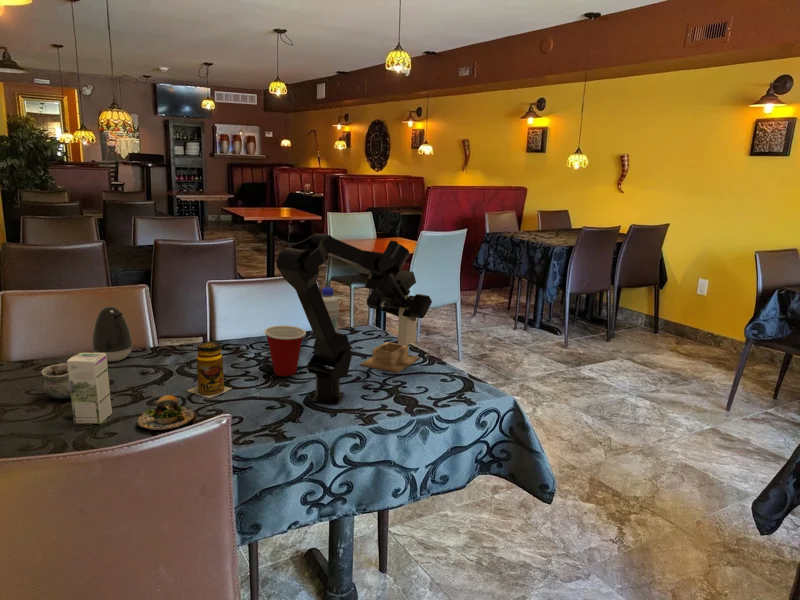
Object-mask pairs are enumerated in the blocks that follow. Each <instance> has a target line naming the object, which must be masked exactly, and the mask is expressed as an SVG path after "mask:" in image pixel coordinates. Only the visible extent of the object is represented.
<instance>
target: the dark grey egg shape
mask: <svg viewBox="0 0 800 600" xmlns="http://www.w3.org/2000/svg"><path fill="white" fill-rule="evenodd" d="M130 330H131V329H130V328H129V325H128V323H127V320H126V319H125V316H124V314H123V312H122V311H120V310H119V309H118V308H117V307H115V306H106V307H104V308H102V309H101V310H100V311H99V313H98V315H97V317H96V319H95V323H94V326H93V332H92V339H91V349H92V351H93V353H106V357H107V363H110V362H111V363H112V362H119V361H122V360H124V359H126V358H127V357H128V356H129V354H130V352H131V350H132V347H133V338H132V334H131V331H130Z"/></svg>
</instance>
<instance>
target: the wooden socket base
mask: <svg viewBox="0 0 800 600" xmlns="http://www.w3.org/2000/svg"><path fill="white" fill-rule="evenodd" d="M419 360H420V356H419V357H418V356H412V355H409V344H408V345H404V344H400V343H395V342H389V341H385V342H384V343H383V344H380V345H378V346H376V347H374V348H372V357H370V358H368V359H366V360H365V361H362V362H360V363H359V366H361V367H366V368H370V369H374V370H375V369H376V370H381V371H385V372H389V373H390V372H391V373H395V374H399V373H400V372H401V371H403V370H405V369H406V368H408V367H409V366H411V365H413V364H414V363H416V362H418V361H419Z"/></svg>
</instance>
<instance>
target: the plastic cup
mask: <svg viewBox="0 0 800 600" xmlns="http://www.w3.org/2000/svg"><path fill="white" fill-rule="evenodd" d="M264 334H265V336H266V338H267V343H268V348H269V353H270V358H271V363H272V368H273V372H274V374H275V375H276V376H278V377H290V376H293V375H295V374H296V373H297V371H298V365H299V364H298V363H299V360H300V353H301V348H302V343H303V340H304V337H305V336H306V334H307V333H306V330H304V329H303V328H300V327H299V326H298V327H297V326H293V325H273V326H269V327H267V328H266V329H265V330H264Z"/></svg>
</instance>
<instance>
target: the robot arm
mask: <svg viewBox="0 0 800 600" xmlns="http://www.w3.org/2000/svg"><path fill="white" fill-rule="evenodd" d="M327 256H330V257H332V258H335V259H337V260H339V261H343V262H345V263H347V264H349V265H350V266H351V268H352V269H353V270H355V271H357V272H358V273H361V274H366V275H369V276H368V278H366V282H365V287H364V288H365V289H369V290H371V292H370V293H369V295H368V297H367V298H366V305H367V306H368V307H369V309H373V310H374V309H375V310H378V309H379V307H382V308H381V311H382V312H384V313H386V314H390V315H392V316H395V317H398V318H399V308H404V309H405V311H404V312H403V314H402V315H403V316H405V317H406V318H408V319H410V320H412V321H415V320H416V318H417V319H423V318H425V316H426V315H427V312H428V311H429V309H430V307H431V305H432V303H433V301H432V299H431V297H430V295H426V294H422V293H421V294H420V293H418V294H415V295H412V294H411V295H409V294H410V293H411V291H410V289H411V287H413V286H414V285H415V284H417V280H416V276H415V273H414V272H413V271H411V270H404V269H403V270H401V269H402V268H403V266H404V265H405V263H406V261H407V259H408V258H409V256H410V251H409V249H408V248H406V247H405V246H404V245H403V244H400V243H398V242H397V240H389V242H388V243H387V247H386V249H385V250H384V252H379V251H370V250H362V249H360V248H358V247H355V246H354V245H351V244H349V243H346V242H344V241H342V240H339V239H337V238H335V237H333V236H332V235H330V234H324V233H314V234H312V235H310V236H309V237H307V238H306V239H304V240H301V241H298V242H296V243H294V244H292V245H290V246H289V247H285V248H283V249H282V250H281V251H280V252H279V254H278V255H277V259H276V262H275V263H276V267H277V270H278V272H279V273H280V274H281V276H282V277H283V279H284V281H286V282H287V283H288V284H289V285H290V286H291V287H292V288H293V289H294V290H295V292H296V294H297V297H298V299H299V302H300V304H301V306H302V307H301V308H302V309H303V311H304V314H305V317H306V319H307V321H308V323H309V326H310V328H311V331H312V333H313V335H314V338H315V340H314V343H313V352H314V353H313V354H312V356H311V358H310V359H309V361H308V363H307V365H306V369H307V372H308V374H311V375H315V395H314V396H313V397H312V399H311V401H310V402H311V403H315V404H316V403H319V404H328V405H338V404H339V403H340V401H341V400H342V398H343V397H344V396H345V392H342V391H340V390H341V387H340V386H341V379H342V378H345V377H347V376H348V375H349V370H350V366H351V362H352V356H353V355H352V354H353V353H352V350H351V349H353V347H352V346H351V344H350V341H349V337H348V336H347V334H344V333H339V332H338V333H336V331H335V329H334V326H333V324H332V321H331V318H330V316H329V313H328V311H327V308H326V306H325V303H324V300H323V298H322V296H323V295H322V292H321V290H320V288H319V285H318V278H319V274H320V269H319V267H321V266H322V265H323V264H324V263H325V261H326V259H327ZM378 304H379V305H378Z"/></svg>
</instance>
